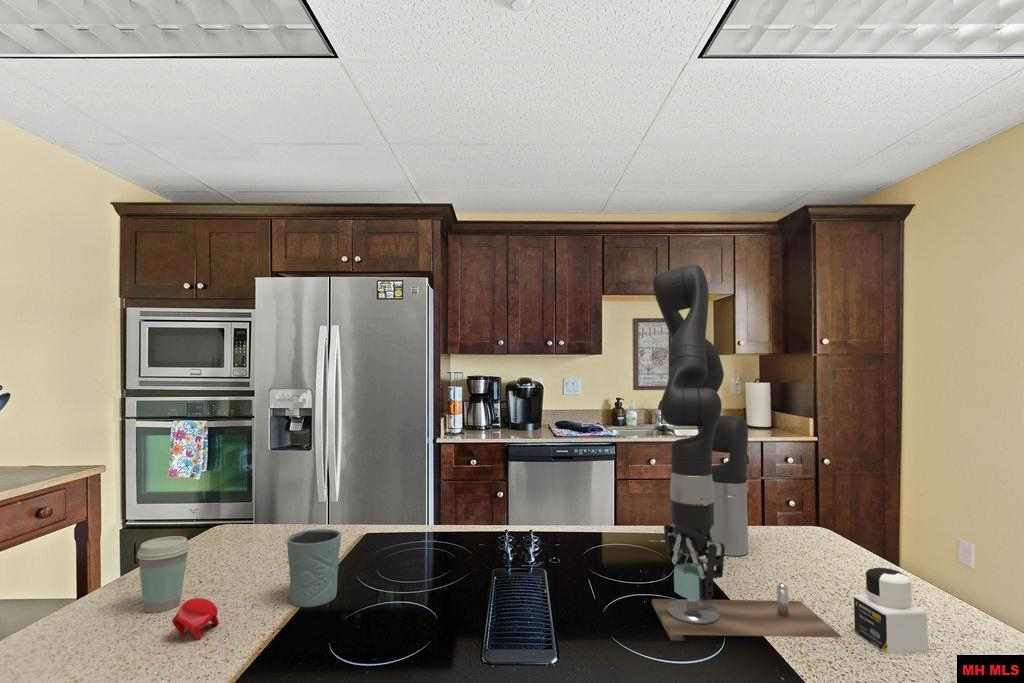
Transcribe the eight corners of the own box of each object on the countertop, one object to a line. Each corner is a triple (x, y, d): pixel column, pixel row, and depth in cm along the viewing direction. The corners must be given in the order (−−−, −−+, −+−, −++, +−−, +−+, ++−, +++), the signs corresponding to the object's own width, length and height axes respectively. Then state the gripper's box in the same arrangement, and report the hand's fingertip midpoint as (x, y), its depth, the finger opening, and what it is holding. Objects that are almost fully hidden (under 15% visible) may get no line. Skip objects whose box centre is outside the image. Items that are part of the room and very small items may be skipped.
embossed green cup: (300, 613, 100) (302, 547, 101) (276, 598, 107) (277, 535, 107) (350, 596, 108) (351, 535, 108) (324, 583, 114) (325, 525, 115)
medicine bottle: (854, 637, 91) (851, 564, 92) (893, 635, 92) (891, 563, 93) (886, 660, 84) (883, 580, 85) (929, 658, 85) (926, 579, 85)
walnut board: (651, 604, 104) (651, 598, 104) (800, 606, 103) (800, 600, 103) (670, 640, 90) (670, 634, 90) (842, 643, 89) (842, 637, 89)
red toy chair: (191, 628, 87) (221, 597, 92) (164, 611, 89) (195, 581, 94) (201, 653, 92) (229, 622, 97) (175, 637, 94) (204, 607, 98)
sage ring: (667, 587, 100) (667, 565, 100) (695, 583, 102) (695, 561, 102) (690, 601, 94) (689, 577, 94) (719, 596, 96) (718, 573, 96)
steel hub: (661, 602, 103) (661, 569, 103) (709, 603, 102) (709, 570, 103) (674, 624, 94) (673, 589, 94) (727, 625, 93) (726, 589, 94)
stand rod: (775, 612, 98) (774, 581, 99) (785, 612, 98) (784, 581, 99) (780, 616, 97) (779, 585, 97) (790, 617, 97) (789, 585, 97)
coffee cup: (198, 600, 106) (200, 537, 106) (157, 619, 98) (159, 551, 98) (166, 594, 108) (168, 533, 109) (123, 612, 100) (125, 546, 101)
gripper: (651, 491, 104) (652, 580, 103) (701, 508, 91) (703, 611, 90) (683, 488, 107) (684, 575, 106) (737, 505, 94) (739, 605, 93)
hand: (693, 591), depth 98 cm, fingers closed on sage ring, 6 cm apart
